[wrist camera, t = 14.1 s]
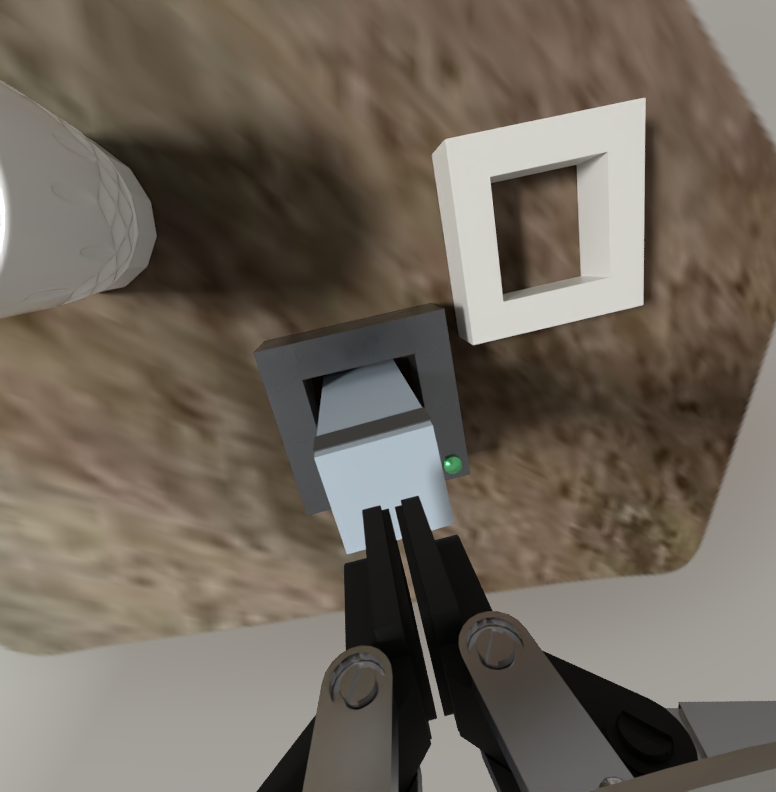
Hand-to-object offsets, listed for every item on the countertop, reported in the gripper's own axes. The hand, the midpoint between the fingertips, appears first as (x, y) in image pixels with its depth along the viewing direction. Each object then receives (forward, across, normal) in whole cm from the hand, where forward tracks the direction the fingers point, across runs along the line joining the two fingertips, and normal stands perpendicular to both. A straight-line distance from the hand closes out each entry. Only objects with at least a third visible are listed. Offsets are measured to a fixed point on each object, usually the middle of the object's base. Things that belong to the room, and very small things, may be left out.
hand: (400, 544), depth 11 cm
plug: (+12, 0, 0) cm, 12 cm away
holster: (+12, -10, -7) cm, 18 cm away
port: (+12, 0, 0) cm, 12 cm away
